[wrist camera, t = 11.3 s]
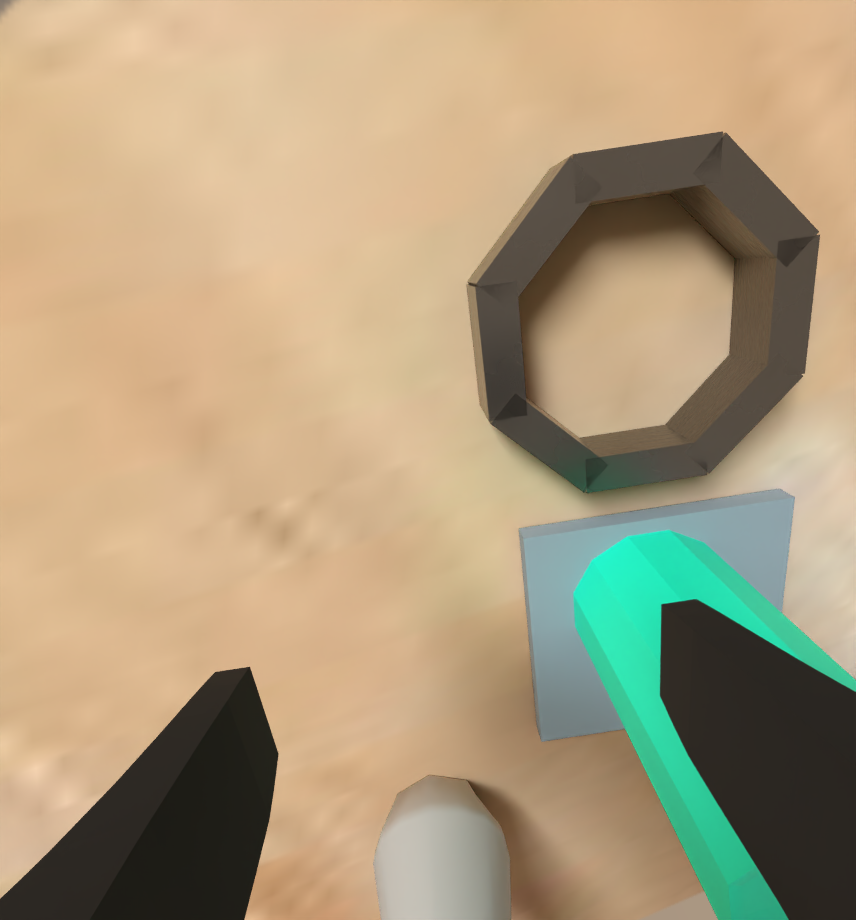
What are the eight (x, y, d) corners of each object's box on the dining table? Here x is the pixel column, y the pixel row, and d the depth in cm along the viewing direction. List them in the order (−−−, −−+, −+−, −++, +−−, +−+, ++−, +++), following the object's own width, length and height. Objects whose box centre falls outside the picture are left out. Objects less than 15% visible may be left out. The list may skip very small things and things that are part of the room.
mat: (779, 488, 20) (794, 497, 19) (759, 692, 24) (770, 706, 23) (518, 528, 20) (523, 538, 19) (537, 726, 24) (541, 741, 23)
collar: (781, 132, 16) (833, 115, 14) (756, 442, 19) (794, 461, 18) (455, 182, 16) (462, 171, 14) (488, 483, 19) (498, 506, 17)
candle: (745, 536, 20) (1201, 893, 9) (698, 665, 22) (1018, 1090, 11) (590, 523, 19) (859, 886, 8) (557, 656, 21) (736, 1096, 10)
